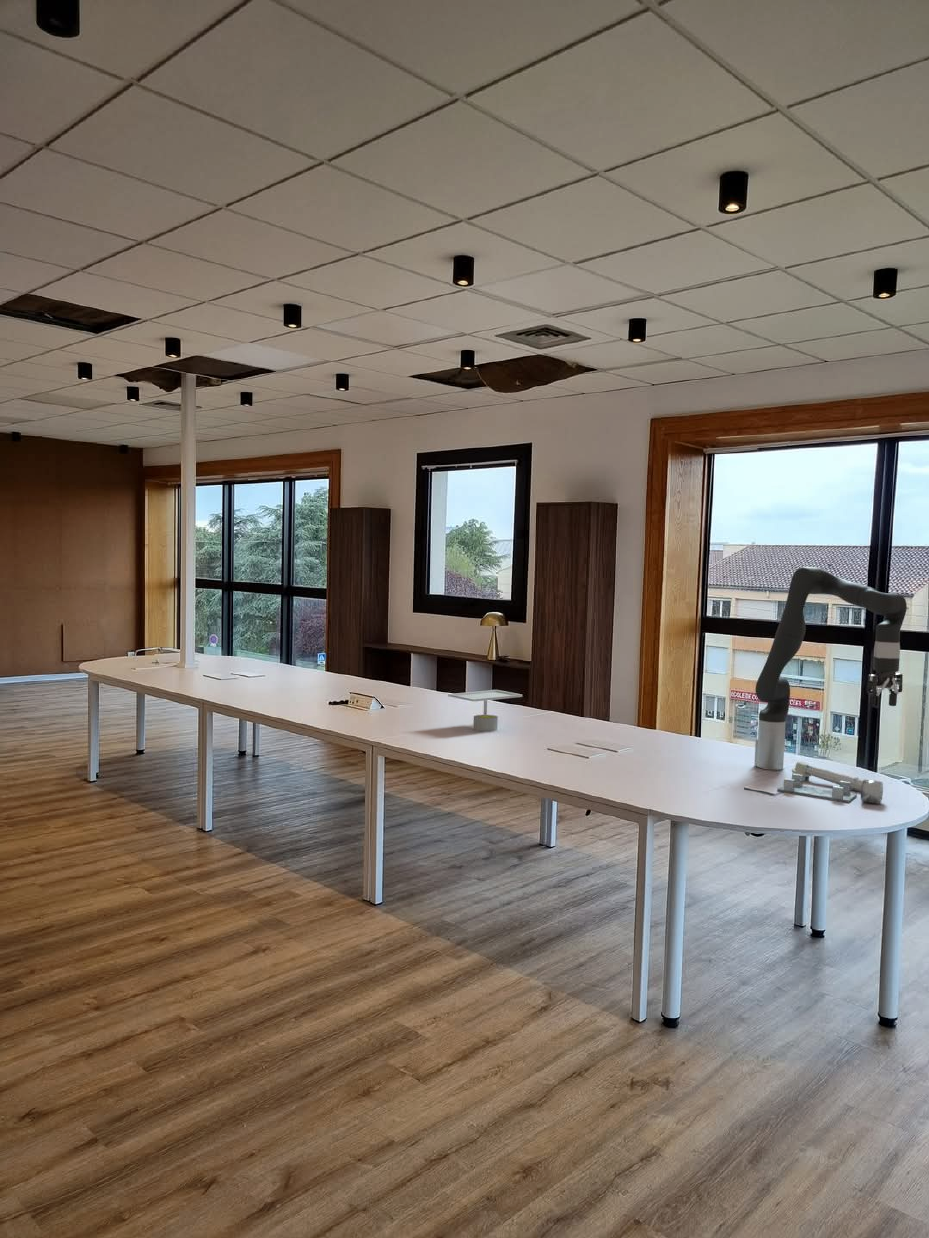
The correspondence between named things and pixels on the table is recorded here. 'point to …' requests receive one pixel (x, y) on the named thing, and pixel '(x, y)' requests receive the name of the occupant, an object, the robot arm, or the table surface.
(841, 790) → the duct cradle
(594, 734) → the table surface
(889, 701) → the robot arm
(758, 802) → the table surface
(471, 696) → the grey flat rectangular-topped stand
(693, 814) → the table surface
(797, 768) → the white handheld massager
